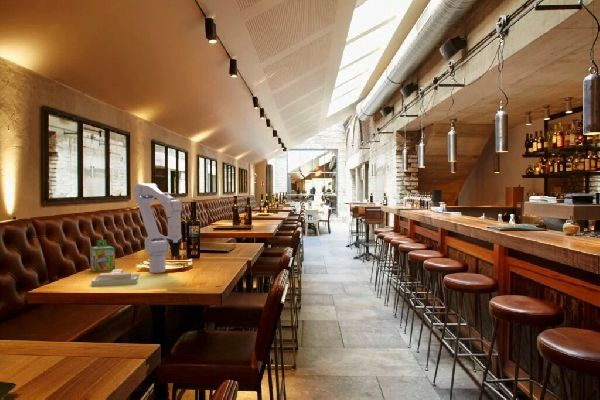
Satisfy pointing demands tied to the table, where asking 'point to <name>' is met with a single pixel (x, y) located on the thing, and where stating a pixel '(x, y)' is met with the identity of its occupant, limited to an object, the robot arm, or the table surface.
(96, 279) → the board
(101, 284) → the off-white long channel
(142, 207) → the robot arm
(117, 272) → the t block
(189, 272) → the table surface
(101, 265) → the chalk box
